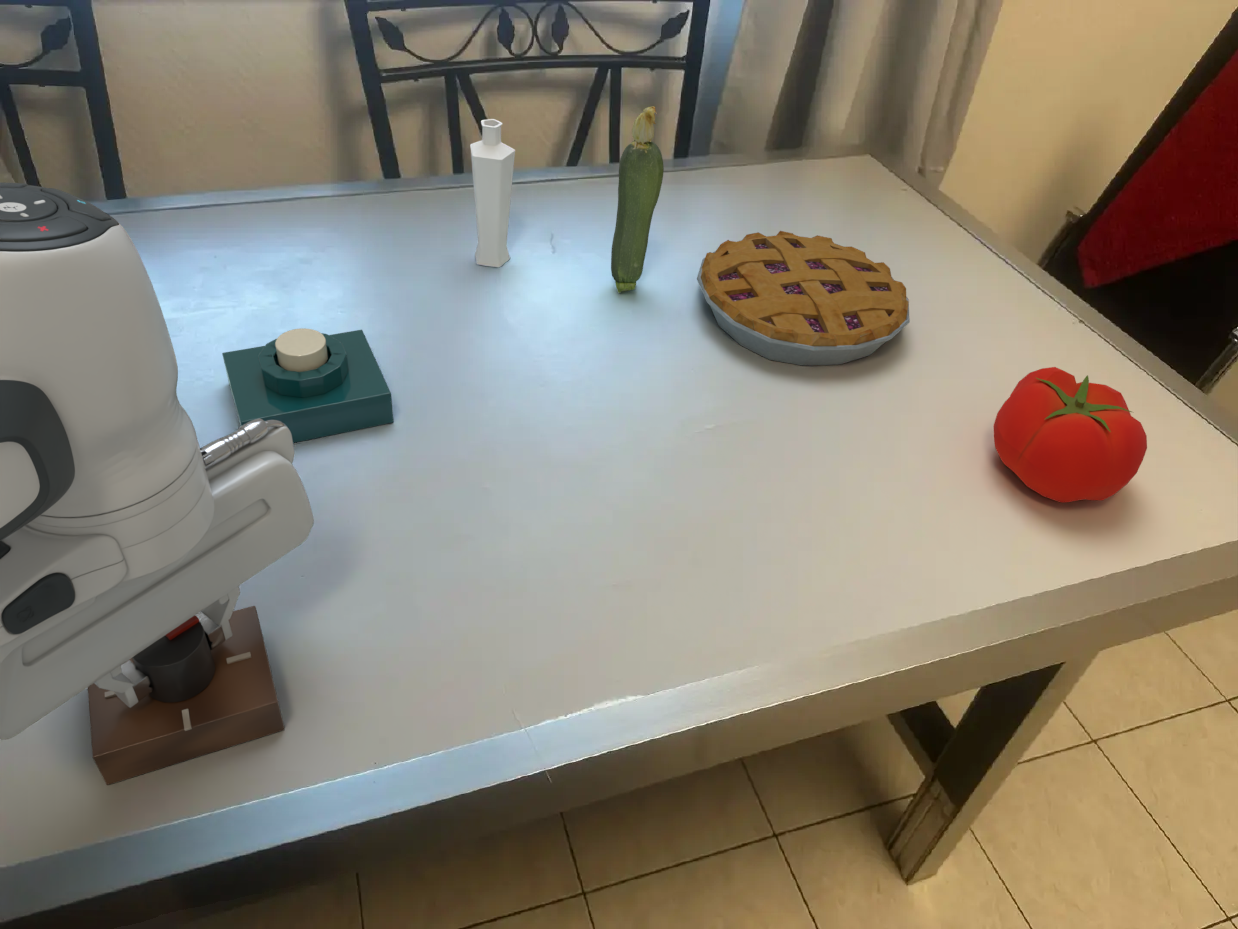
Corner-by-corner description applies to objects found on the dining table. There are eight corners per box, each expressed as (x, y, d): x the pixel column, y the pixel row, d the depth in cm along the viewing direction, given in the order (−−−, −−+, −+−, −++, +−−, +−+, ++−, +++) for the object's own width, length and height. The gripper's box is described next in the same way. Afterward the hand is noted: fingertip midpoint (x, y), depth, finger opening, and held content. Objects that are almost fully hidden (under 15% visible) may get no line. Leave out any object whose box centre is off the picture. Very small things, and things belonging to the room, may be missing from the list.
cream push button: (283, 376, 78) (279, 359, 77) (274, 349, 80) (270, 332, 79) (332, 367, 79) (330, 350, 78) (322, 341, 82) (320, 324, 81)
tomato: (1152, 519, 81) (1201, 442, 75) (1018, 526, 79) (1058, 447, 73) (1076, 424, 90) (1115, 349, 85) (955, 428, 88) (986, 352, 82)
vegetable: (606, 277, 103) (622, 91, 90) (645, 278, 103) (668, 93, 90) (610, 299, 100) (628, 109, 86) (651, 300, 100) (675, 111, 87)
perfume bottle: (460, 256, 103) (457, 120, 94) (491, 244, 106) (491, 110, 96) (488, 273, 101) (488, 136, 91) (519, 261, 104) (522, 125, 94)
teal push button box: (247, 452, 77) (236, 404, 74) (228, 382, 84) (217, 334, 81) (393, 422, 82) (389, 375, 78) (365, 358, 88) (360, 312, 85)
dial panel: (106, 787, 55) (91, 757, 53) (98, 677, 60) (84, 646, 58) (285, 731, 59) (277, 701, 57) (262, 632, 64) (254, 602, 62)
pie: (942, 359, 96) (958, 318, 93) (749, 390, 90) (758, 346, 86) (835, 253, 111) (845, 214, 108) (662, 273, 105) (668, 231, 101)
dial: (168, 715, 56) (153, 675, 53) (130, 677, 57) (113, 637, 55) (228, 672, 58) (216, 633, 56) (190, 637, 60) (176, 597, 57)
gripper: (249, 382, 56) (283, 545, 65) (-135, 580, 43) (-25, 750, 52) (321, 428, 53) (346, 592, 62) (-64, 654, 40) (39, 819, 49)
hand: (175, 665), depth 57 cm, fingers closed on dial, 4 cm apart
